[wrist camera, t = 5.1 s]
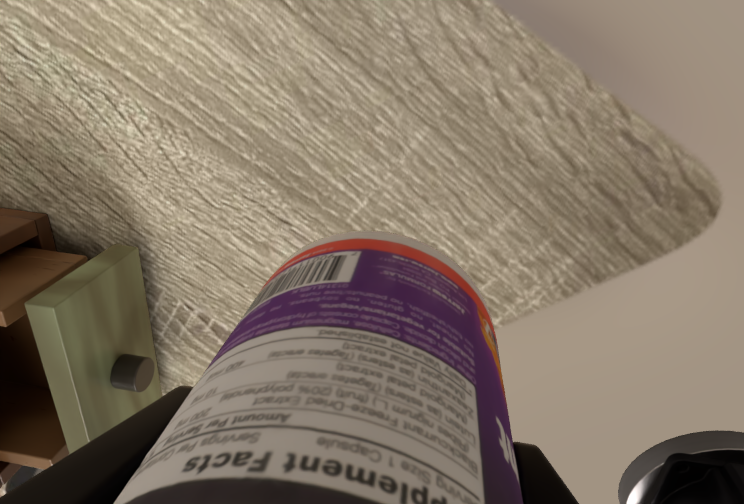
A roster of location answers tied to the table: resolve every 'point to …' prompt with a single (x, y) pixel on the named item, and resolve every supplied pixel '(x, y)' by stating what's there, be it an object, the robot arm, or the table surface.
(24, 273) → the drawer
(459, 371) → the pill bottle
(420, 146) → the table surface
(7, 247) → the cabinet
